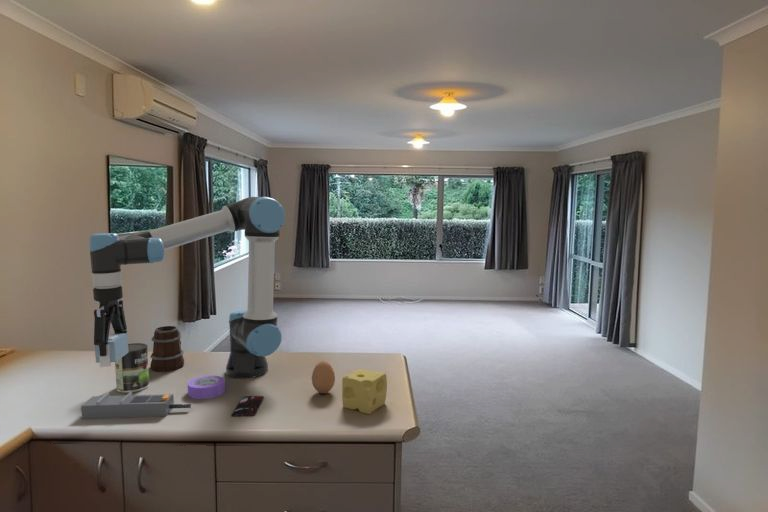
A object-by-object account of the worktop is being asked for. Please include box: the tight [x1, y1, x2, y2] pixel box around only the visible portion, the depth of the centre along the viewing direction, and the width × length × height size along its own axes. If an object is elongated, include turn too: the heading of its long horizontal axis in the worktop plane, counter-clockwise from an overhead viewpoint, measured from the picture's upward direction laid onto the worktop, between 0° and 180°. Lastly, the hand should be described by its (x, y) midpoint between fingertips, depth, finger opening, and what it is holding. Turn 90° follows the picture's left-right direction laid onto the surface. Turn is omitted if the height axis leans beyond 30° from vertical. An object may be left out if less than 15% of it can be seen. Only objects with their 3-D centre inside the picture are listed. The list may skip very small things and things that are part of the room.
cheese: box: [341, 368, 388, 415], centre depth 160 cm, size 10×11×10 cm
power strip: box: [80, 392, 192, 420], centre depth 155 cm, size 30×7×5 cm, turn 95°
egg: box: [311, 360, 336, 394], centre depth 170 cm, size 8×8×11 cm
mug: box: [149, 325, 185, 372], centre depth 197 cm, size 16×12×15 cm
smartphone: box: [230, 395, 265, 418], centre depth 160 cm, size 7×1×15 cm
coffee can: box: [114, 342, 150, 394], centre depth 174 cm, size 10×10×14 cm
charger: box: [94, 332, 129, 364], centre depth 152 cm, size 6×9×6 cm, turn 5°
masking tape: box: [187, 375, 226, 400], centre depth 171 cm, size 12×12×4 cm
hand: (113, 360), depth 152 cm, fingers closed on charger, 9 cm apart
